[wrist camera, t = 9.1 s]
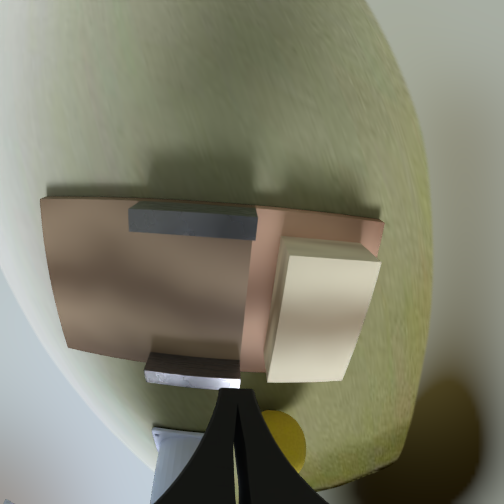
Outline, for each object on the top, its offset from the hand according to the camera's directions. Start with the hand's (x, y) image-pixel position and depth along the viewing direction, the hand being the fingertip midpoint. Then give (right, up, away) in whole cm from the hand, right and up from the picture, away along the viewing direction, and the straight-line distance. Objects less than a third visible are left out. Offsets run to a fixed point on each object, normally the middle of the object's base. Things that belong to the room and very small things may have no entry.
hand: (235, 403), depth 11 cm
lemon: (+2, -8, +13) cm, 15 cm away
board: (-3, +4, +8) cm, 9 cm away
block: (+4, +3, +7) cm, 9 cm away
